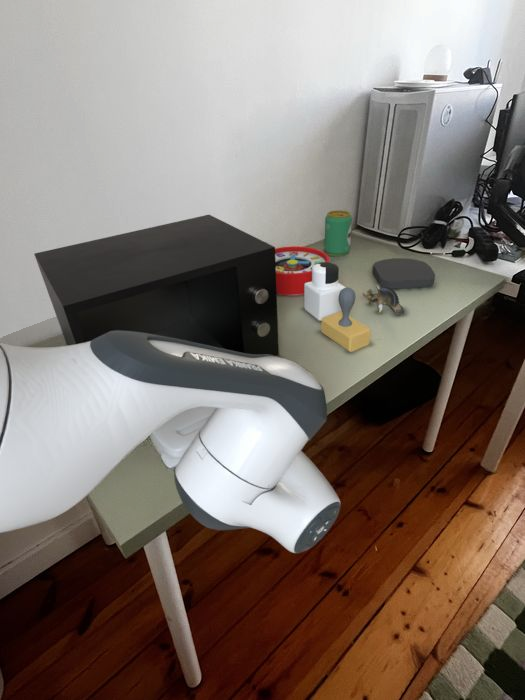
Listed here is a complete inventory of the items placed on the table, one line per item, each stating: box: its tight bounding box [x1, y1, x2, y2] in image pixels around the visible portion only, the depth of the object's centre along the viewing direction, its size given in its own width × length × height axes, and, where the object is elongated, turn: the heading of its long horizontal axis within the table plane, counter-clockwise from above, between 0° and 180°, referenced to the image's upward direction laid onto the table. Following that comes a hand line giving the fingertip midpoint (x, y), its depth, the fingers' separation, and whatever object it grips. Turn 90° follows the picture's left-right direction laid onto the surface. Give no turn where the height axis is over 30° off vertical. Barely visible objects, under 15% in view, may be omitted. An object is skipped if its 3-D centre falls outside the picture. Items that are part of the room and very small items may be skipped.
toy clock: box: [275, 245, 330, 296], centre depth 120 cm, size 20×6×20 cm
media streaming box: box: [372, 257, 436, 289], centre depth 118 cm, size 15×15×3 cm
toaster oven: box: [33, 214, 280, 357], centre depth 84 cm, size 36×27×24 cm
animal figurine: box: [362, 284, 406, 316], centre depth 103 cm, size 8×7×9 cm
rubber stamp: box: [320, 287, 372, 353], centre depth 91 cm, size 10×6×12 cm, turn 31°
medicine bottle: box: [303, 261, 347, 322], centre depth 102 cm, size 7×7×12 cm
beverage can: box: [323, 209, 353, 257], centre depth 134 cm, size 8×8×12 cm
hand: (199, 387), depth 67 cm, fingers open, 8 cm apart
